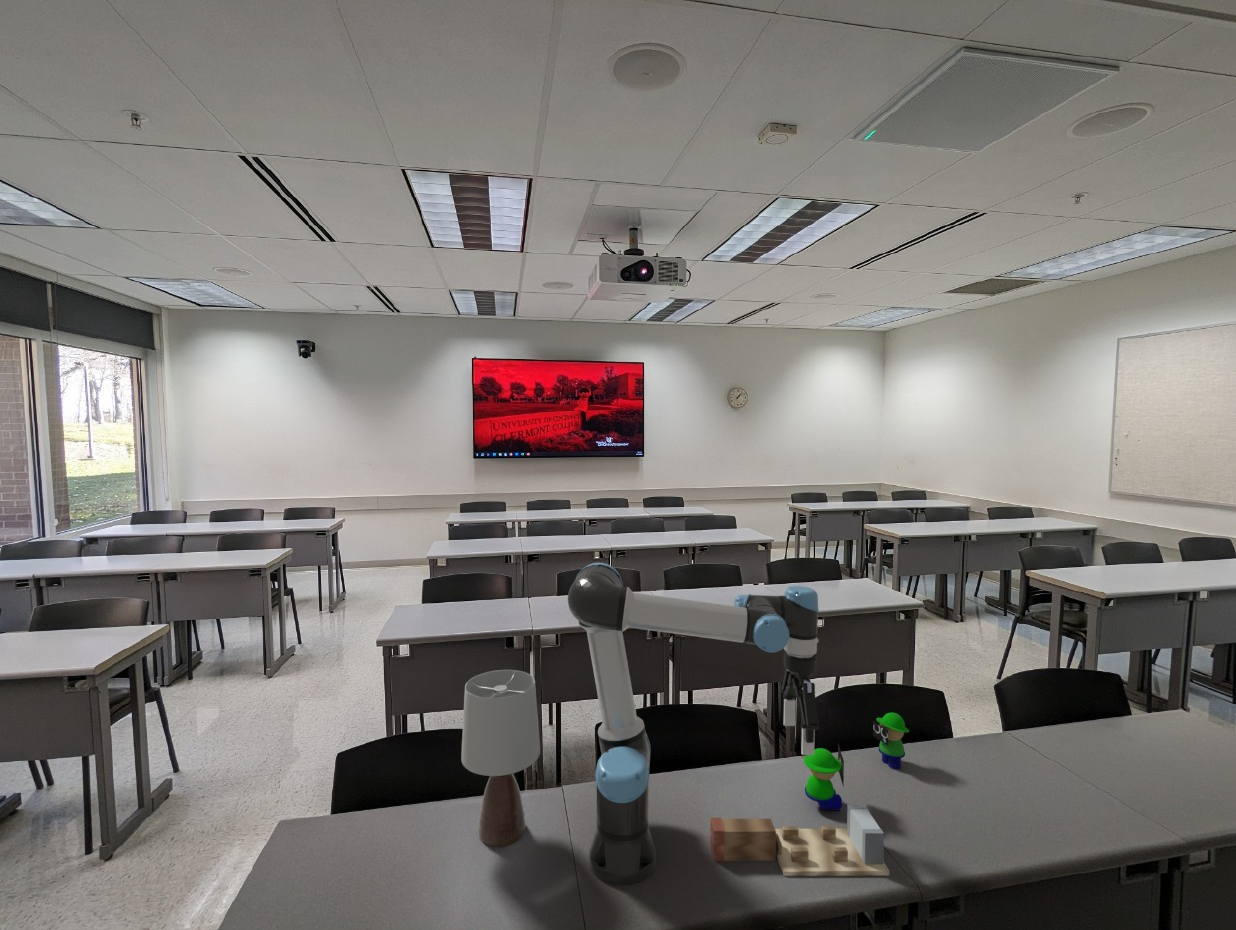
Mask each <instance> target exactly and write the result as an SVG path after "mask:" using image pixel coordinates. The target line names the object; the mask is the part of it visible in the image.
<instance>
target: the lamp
mask: <svg viewBox="0 0 1236 930" xmlns="http://www.w3.org/2000/svg"><path fill="white" fill-rule="evenodd" d="M463 701H464V702H463V717H462V720H463V721H462V736H461V737H462V738H461V739H462V740H461V755H460V756H461V759H460V760H461V763H462V766H463V767H464V768H465V769H467V771H468V772H471V773H473V774H477V775H480V776H487V777H489V778H488V781H487V783H486V785H485V788H484V793H483V798H482V803H481V810H480V816H479V817H480V818H479V826H478V827H479V828H478V837H479V839H480V842H482V843H483V844H484V845H485V846H490V847H493V848H495V847H496V848H501V847H507V846H511V845H513V844H515V843H517V842H518V841H519V840H520V841H521V839H522V838H523V836H524V835H525V832H526V819H525V810H524V806H523V800H522V794H521V790H520V787H519V784H518V782H517V779H516V777H515V775H514V774H516V773H519V772H520V771H523V770H525V769H527V768H529V767H530V766H532V765H534V763H535V762H536V761H538V759H539V757H540V755H541V742H540V741H541V740H540V728H539V716H538V702H537V701H538V700H537V690H536V681H535V678H534V677H533V675H531V674H530V673H528V672H526V671H522V670H515V669H498V670H491V671H486V672H483V673H482V672H481V673H480V674H478V675H475V676H474V677H470V679H469V680H468V681H467V682H466V683H465V685H464V697H463Z"/></svg>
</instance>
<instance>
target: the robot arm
mask: <svg viewBox="0 0 1236 930" xmlns="http://www.w3.org/2000/svg"><path fill="white" fill-rule="evenodd" d="M733 602H734V603H733V605H730V604H721V603H715V602H714V603H713V602H706V601H698V600H691V599H684V598H677V597H668V596H662V595H661V596H660V595H654V594H645V593H639V592H638V593H637V592H633V591H632V590H631V588H630V587H627V586H624V583H623V579H622V577H621V574H619V571H617V569H615V568H614V567H613V566H612V565H610V564H608V563H604V562H593V563H590V564H588V565H586V566H585V567H583V568H582V569H581V570H580V571H579V572H578V573H577V574H576V577H575V579H574V581H573V583H572V584H571V586H570V588H569V591H568V594H567V604H568V608H569V610H570V612H571V614H572V616H573V617H574V618H575V619H576V620H577V621H578V625H579V626H580V627H581V628H583V630H585V631H586V635H587V641H588V645H589V646H588V648H589V652H590V653H589V654H590V658H591V665H592V669H593V675H594V682H595V687H596V693H597V699H598V705H599V710H600V711H599V712H600V717H601V725H600V726H599V727H598V730H597V734H598V741H599V742H598V743H599V747H600V752H601V755H600V757H599V759H598V760H597V764H596V769H595V782H596V828H595V831H594V833H593V834H594V835H593V838H592V840H591V843H590V847H589V850H588V851H589V852H588V863H589V864H588V865H589V867H590V869H591V872H592V873H593V874H594V876H595V877H596V878H598V879H599V880H600V881H603V882H605V883H607V884H610V885H615V886H631V885H636V884H639V883H641V882H643V881H644V880H646V879H647V878H649V877H650V876H651V875H652V874H653V873H654V870H655V869H656V865H657V850H656V846H655V843H654V841H653V837H652V833H651V831H650V828H649V782H650V763H651V762H650V761H651V753H652V752H651V744H650V740H649V737H648V734H647V732H646V726H645V723H644V720H643V719H642V718H640V717H639V716H637V710H636V705H635V699H634V694H633V688H632V682H631V676H630V670H629V664H628V659H627V653H626V647H625V639H624V635H623V632H625V631H626V630H627V629H630V628H631V629H638V630H646V631H653V632H659V633H668V634H669V633H670V634H676V635H683V636H690V637H698V638H705V639H713V640H720V641H727V642H734V643H735V642H736V643H741V644H742V643H744V644H749V645H756V646H757V647H758V648H759V649H760V650H762V651H764V652H767V653H772V654H773V653H778V652H780V651H782V650H784V652H783V668H785V671H784V676H783V680H782V684H781V689H780V691H781V693H782V697H783V726H785V727H795V726H796V710H797V709H796V704H797V701H796V699H798V701H799V702H798V703H799V706H800V712H801V717H802V722H803V723H802V725H800V729H801V747H800V748H801V750H800V751H801V755H802V756H807V755H814V750H815V740H816V739H815V735H816V733H815V732H816V731H818V730H820V724H819V715H818V707H817V700H816V684H815V683H814V682H812V681H811V679H810V675H811V674H812V673H814V672H816V671H817V667H818V666H817V664H818V663H817V662H818V661H817V659H818V656H817V651H818V650H817V649H818V643H819V641H820V639H819V638H818V623H819V622H818V621H819V620H818V619H819V610H820V609H819V597H818V593H817V591H816V590H815V589H813V588H811V587H807V586H802V585H801V586H800V585H799V586H798V585H795V586H788V587H787V588H786V589H785V593H784V595H763V594H761V595H759V594H738V595H737V596H735V597H734V601H733Z"/></svg>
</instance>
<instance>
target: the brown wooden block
mask: <svg viewBox="0 0 1236 930" xmlns="http://www.w3.org/2000/svg"><path fill="white" fill-rule="evenodd" d="M709 818H710V819H709V820H710V827H709V828H710V830H709V831H710V833H709V834H710V835H709V836H710V838H709V839H710V840H709V841H710V843H709V844H710V845H709V846H710V851H711V855H712V858H713V859H712V860H713V862H724V861H725V862H726V861H728V862H729V861H732V862H733V861H739V862H740V861H742V862H743V861H746V862H747V861H776V859H777V857H776V830H775V829H776V827H775V825H774V823H773V820H772V818H722V817H709Z"/></svg>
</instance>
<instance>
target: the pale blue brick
mask: <svg viewBox="0 0 1236 930" xmlns="http://www.w3.org/2000/svg"><path fill="white" fill-rule="evenodd" d="M846 812H847V815H846V817H847V818H846V819H847V820H846V821H847V822H846V826H847V835H848V836H849V838H850V839H851V841H852V843H853V845H854V846H855V848H856V850H857V851H858V853H859V855H860V857H861V858H862V860H863V862H864V864H883V861H884V845H885V833H884V831H883V829H882V828H881V827H880V826H879V824H878V823H877V821H876V820H875V819H874V817H873V815H872V814H871V812H870V811H869V809H868V808H867V806H866V804H847V811H846Z"/></svg>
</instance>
